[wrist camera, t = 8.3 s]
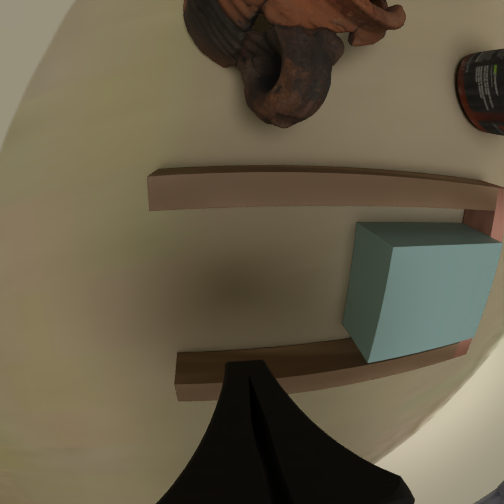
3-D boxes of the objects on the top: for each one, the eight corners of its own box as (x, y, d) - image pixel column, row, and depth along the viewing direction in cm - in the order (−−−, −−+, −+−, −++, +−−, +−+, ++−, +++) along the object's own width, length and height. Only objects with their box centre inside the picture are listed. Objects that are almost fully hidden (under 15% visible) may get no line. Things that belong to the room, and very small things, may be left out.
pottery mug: (179, -46, 11) (265, -135, 5) (304, 2, 17) (400, -44, 10) (152, 138, 13) (273, 57, 6) (312, 159, 18) (443, 143, 11)
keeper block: (440, 307, 22) (473, 337, 18) (341, 321, 21) (367, 363, 16) (460, 222, 19) (502, 242, 15) (354, 220, 18) (393, 247, 14)
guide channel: (446, 334, 23) (465, 354, 20) (180, 369, 20) (178, 401, 17) (481, 180, 18) (510, 189, 15) (158, 169, 15) (146, 176, 13)
